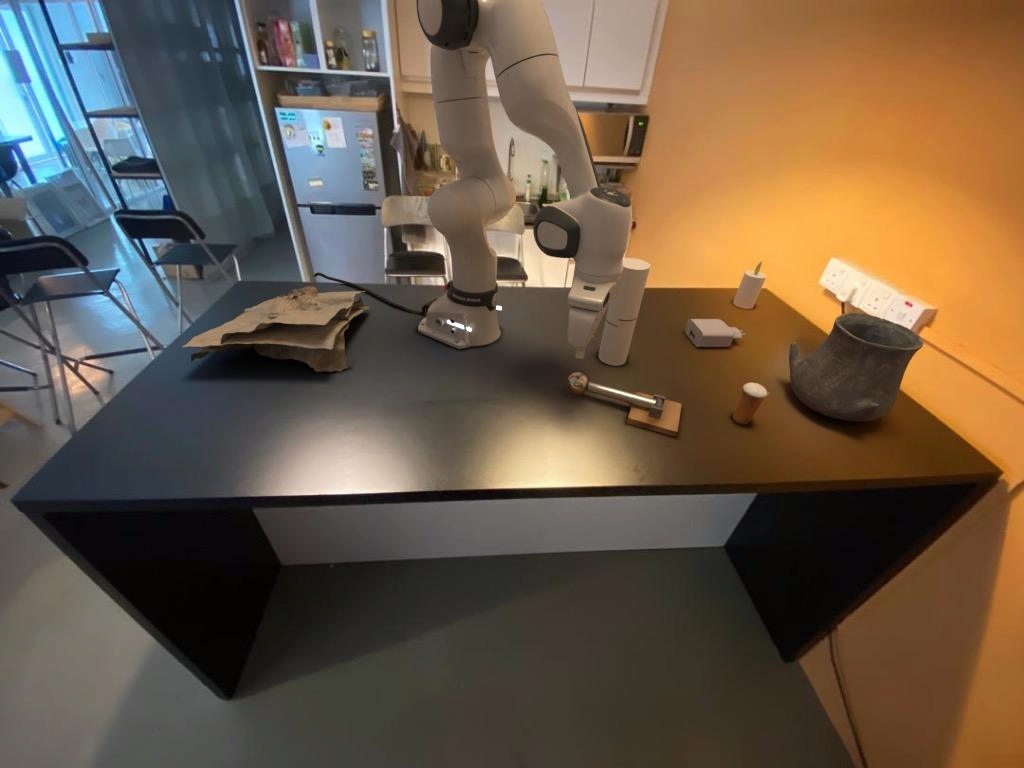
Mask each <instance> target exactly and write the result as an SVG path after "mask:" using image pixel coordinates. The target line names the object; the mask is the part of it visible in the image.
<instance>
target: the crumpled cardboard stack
mask: <svg viewBox="0 0 1024 768" xmlns="http://www.w3.org/2000/svg"><path fill="white" fill-rule="evenodd" d="M360 293H366V292H365V291H362V290H360V291H353V290H349V291H328V292H319V291H318V289H317V287H315V286H310V285H308V286H304V287H303V288H300V289H296V288H294V289H292V291H290V292H289V291H288V294H287V295H286V293H284V294H283V296H279V295H277V297H274V298H271V299H268V300H265V301H262V302H261V303H259V304H257V305H254V306H252V307H249V308H245V309H244V310H243V311H244V312H243V313H241V314H240V315H238V316H237V317H235V318H234V319H233V320H229V321H228V322H224V323H223V324H221V325H220V326H217V327H215V328H211V329H209V330H207V331H205V332H202V333H200V334H198V335H195V336H194V337H192V338H191V340H189V341H188V342H187V343H186V344H183V346H182V349H183V348H188V347H192V348H193V347H194V348H195V347H198V348H199V347H200V348H201V349H198V350H197V351H196V352H195V351H194V352H193V353H191V355H190V360H191V362H190V363H193V361H195V359H203V358H205V357H206V356H208V355H210V354H212V353H213V354H215V355H216V354H217V355H218V354H222V353H224V352H226V351H231V350H234V351H238V350H241V349H252V348H253V350H254V352H256V353H258V354H259V356H264V357H265V356H266V357H267V358H270V359H272V360H288V359H289V360H291V359H292V360H295V361H300V362H303V363H305V364H307V365H308V366H309V368H311V369H313V370H314V372H317V373H320V372H329V373H333V372H335V371H336V372H342V371H343V370H345V369H349V367H348V359H347V354H346V347H345V345H346V343H345V341H346V340H345V335H344V334H345V331H346V330H347V329H349V327H350V322H351V320H353V319H354V317H357V316H358V315H360V314H362V313H363V312H364V311H366V310H368V309H369V308H370V306H367V305H366V306H365V305H364V302H363V299H362V297H361V296H360V297H359V298H358V299H355V296H356V295H359V294H360ZM202 347H203V348H202Z"/></svg>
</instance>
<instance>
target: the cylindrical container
mask: <svg viewBox="0 0 1024 768" xmlns="http://www.w3.org/2000/svg"><path fill="white" fill-rule="evenodd" d="M650 269H651V264H650V263H649V262H647V261H646V260H643V259H640V258H635V257H623V272H622V277H621V282H620V287H619V292H618V295H617V296H616V297H615V298H613V299H612V300H611V301H610V302H609V305H608V308H607V310H606V316H605V321H604V325H603V326H604V327H603V330H602V336H601V341H600V345H599V350H598V354H597V356H598V359H599V360H600V361H601V362H602V363H604V364H607V365H609V366H621V365H624V364H626V362H627V359H628V354H629V351H630V347H631V343H632V340H633V336H634V333H635V327H636V324H637V320H638V317H639V312H640V308H641V304H642V300H643V298H644V292H645V289H646V286H647V281H648V277H649V273H650Z"/></svg>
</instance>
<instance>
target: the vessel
mask: <svg viewBox="0 0 1024 768" xmlns="http://www.w3.org/2000/svg"><path fill="white" fill-rule="evenodd" d="M924 345H925V343H924V341H923V338H922V337H921V336H920V335H918V334H917V333H916V332H915V331H914V330H911V329H910V328H909V327H907V326H904V325H901V324H899V323H896V322H893V321H890V320H888V319H886V318H881V317H879V316H875V315H872V314H867V313H860V312H845V313H842V314H839V315H837V317H836V318H835V319H834V322H833V325H832V329H831V331H830V333H829V334H828V335H827V336H826V338H825V339H824V340H823V341H822V342H821V343H820V344H819V345H818V346H817V347H815V349H813V350H812V351H811V352H810V353H809V354H807V355H806V356H805V357H803V358H801V357H800V356H799V351H798V344H797V342H796V341H792V342H791V343H790V347H789V355H788V363H789V381H790V384H791V388H792V390H793V393H794V394H795V396H796V397H797V398H798V400H799V401H800V402H801V403H802V404H803V405H805V406H806V407H807V408H809V409H811V410H813V412H816V413H818V414H820V415H823V416H825V417H829V418H832V419H836V420H841V421H845V422H871V421H876V420H878V419H881V418H882V417H884V416H886V415H887V414H888V413H890V412H891V410H892V409H893V408H894V407H895V403H896V401H897V399H898V394H899V393H900V389H901V385H902V382H903V378H904V376H905V372H906V370H907V368H908V366H909V364H910V362H911V360H912V359H913V358H914V356H915V355H916V353H917V352H918V351H919V350H921V349H922V348H923V346H924Z"/></svg>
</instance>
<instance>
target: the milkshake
mask: <svg viewBox="0 0 1024 768" xmlns="http://www.w3.org/2000/svg"><path fill="white" fill-rule="evenodd" d="M774 390H776V387H774V388H772V389H771V390H770V391H767V389H766V388H765V386H763V385H762V384H760V383H756V382H751V381H750V382H747V383H744V384H743V386H742V389H741V392H740V395H739V398H738V400H737V403H736V406H735V409H734V411H733V414H732V419H733V421H734V422H735V423H737V424H739V425H748V424H749V423H750V421H751V420H752V419H753V417H754V415H755V414H756V412H757V411H758V409H759V407H760V406H761V404H762V403H763V402H764V400H765V399H766V397H767V396H768V395H769V394H770V393H772V392H773V391H774Z"/></svg>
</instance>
